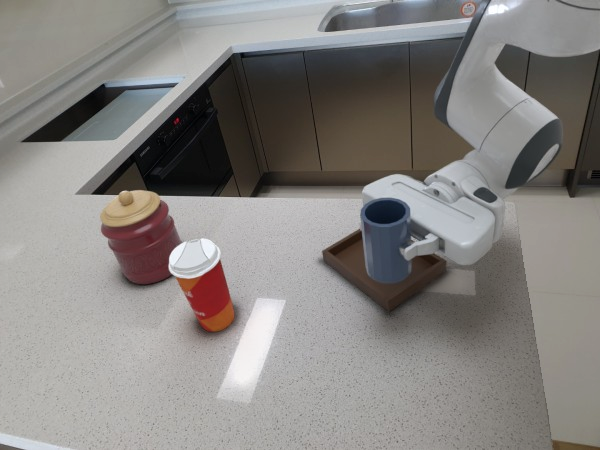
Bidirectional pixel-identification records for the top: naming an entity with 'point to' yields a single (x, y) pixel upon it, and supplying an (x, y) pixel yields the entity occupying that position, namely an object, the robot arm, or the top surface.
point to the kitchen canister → (140, 235)
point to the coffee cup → (203, 282)
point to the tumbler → (386, 239)
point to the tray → (351, 265)
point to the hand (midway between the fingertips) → (382, 241)
